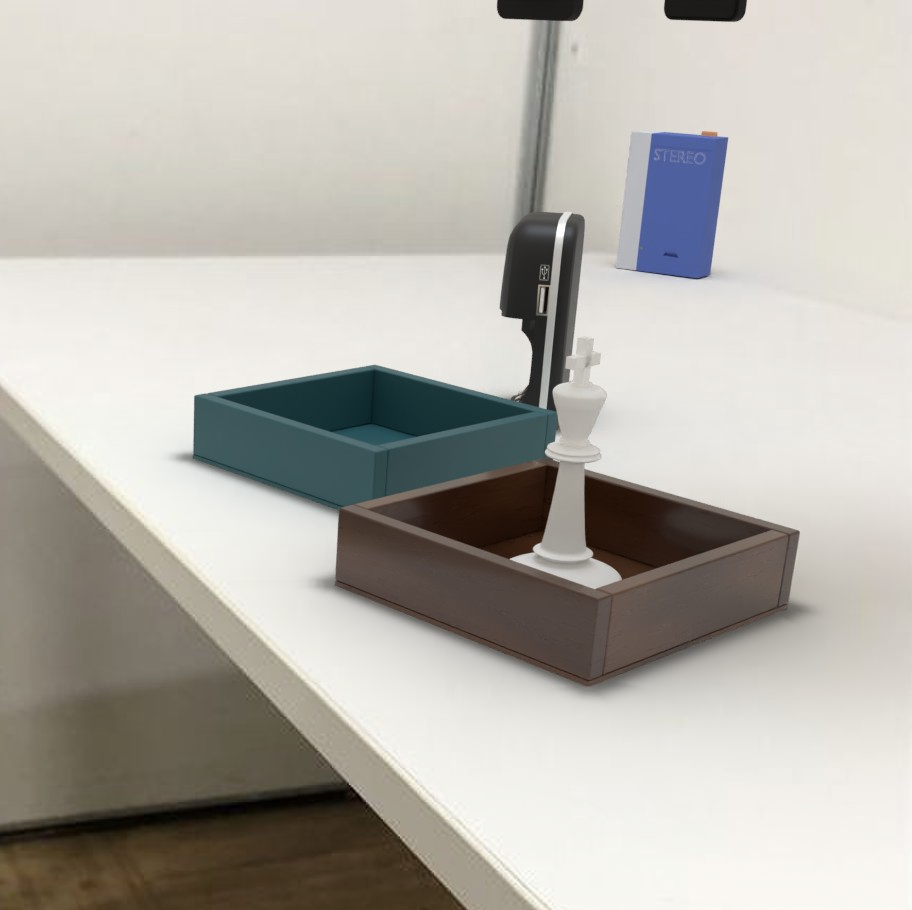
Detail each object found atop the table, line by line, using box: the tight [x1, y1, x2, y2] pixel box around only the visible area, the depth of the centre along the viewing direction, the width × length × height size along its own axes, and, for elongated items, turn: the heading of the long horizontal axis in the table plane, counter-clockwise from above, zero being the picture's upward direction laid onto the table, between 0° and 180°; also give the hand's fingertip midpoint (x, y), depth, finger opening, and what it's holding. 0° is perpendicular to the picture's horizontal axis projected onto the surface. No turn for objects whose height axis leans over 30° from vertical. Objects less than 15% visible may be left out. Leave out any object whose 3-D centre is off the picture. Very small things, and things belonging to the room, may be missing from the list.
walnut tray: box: [334, 458, 801, 687], centre depth 63 cm, size 13×13×4 cm
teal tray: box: [192, 364, 558, 511], centre depth 79 cm, size 13×13×4 cm
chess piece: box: [510, 335, 622, 589], centre depth 62 cm, size 5×5×10 cm
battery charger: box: [499, 211, 586, 431], centre depth 89 cm, size 7×4×11 cm, turn 166°
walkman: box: [615, 129, 729, 279], centre depth 141 cm, size 8×3×12 cm, turn 53°
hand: (624, 19), depth 57 cm, fingers open, 9 cm apart
